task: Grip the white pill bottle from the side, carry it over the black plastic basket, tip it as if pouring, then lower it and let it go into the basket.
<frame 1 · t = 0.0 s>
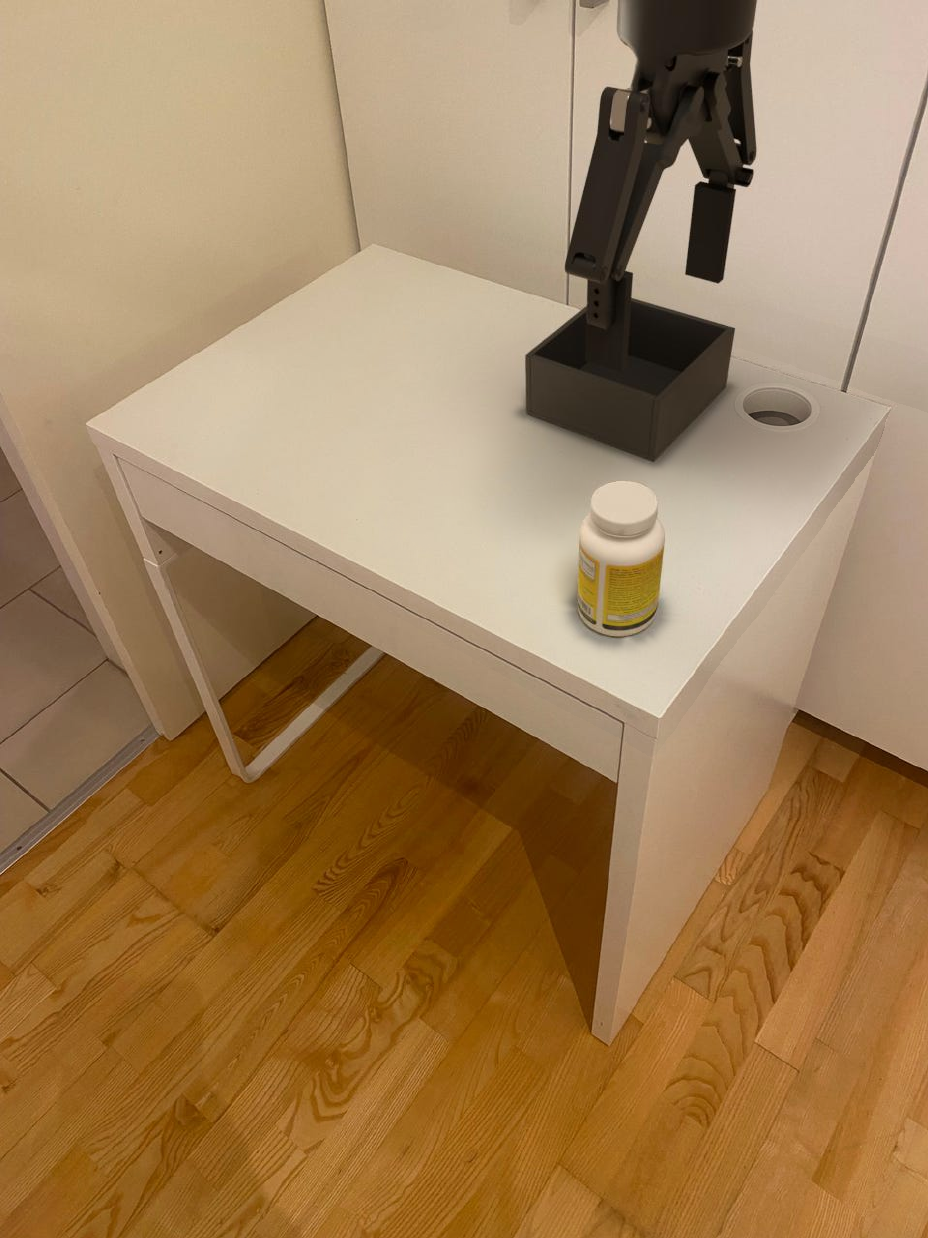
hand: (657, 318, 67), 20 cm above the table, tool pointing down, fingers open, 13 cm apart
basket: (626, 400, 94), on the table
pill bottle: (616, 611, 75), on the table
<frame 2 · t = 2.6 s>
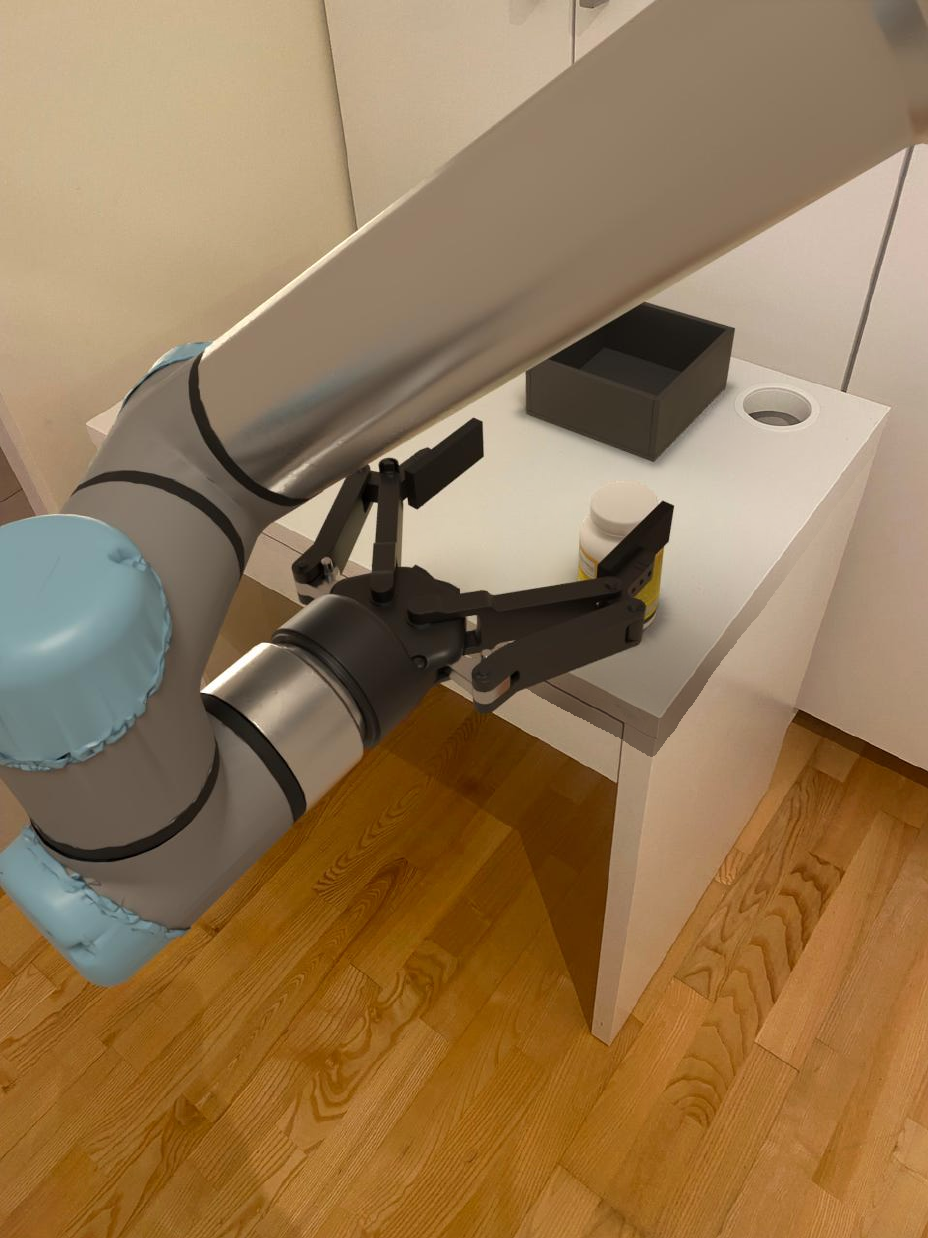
hand: (567, 476, 57), 18 cm above the table, tool horizontal, fingers open, 13 cm apart
nothing on the table moved.
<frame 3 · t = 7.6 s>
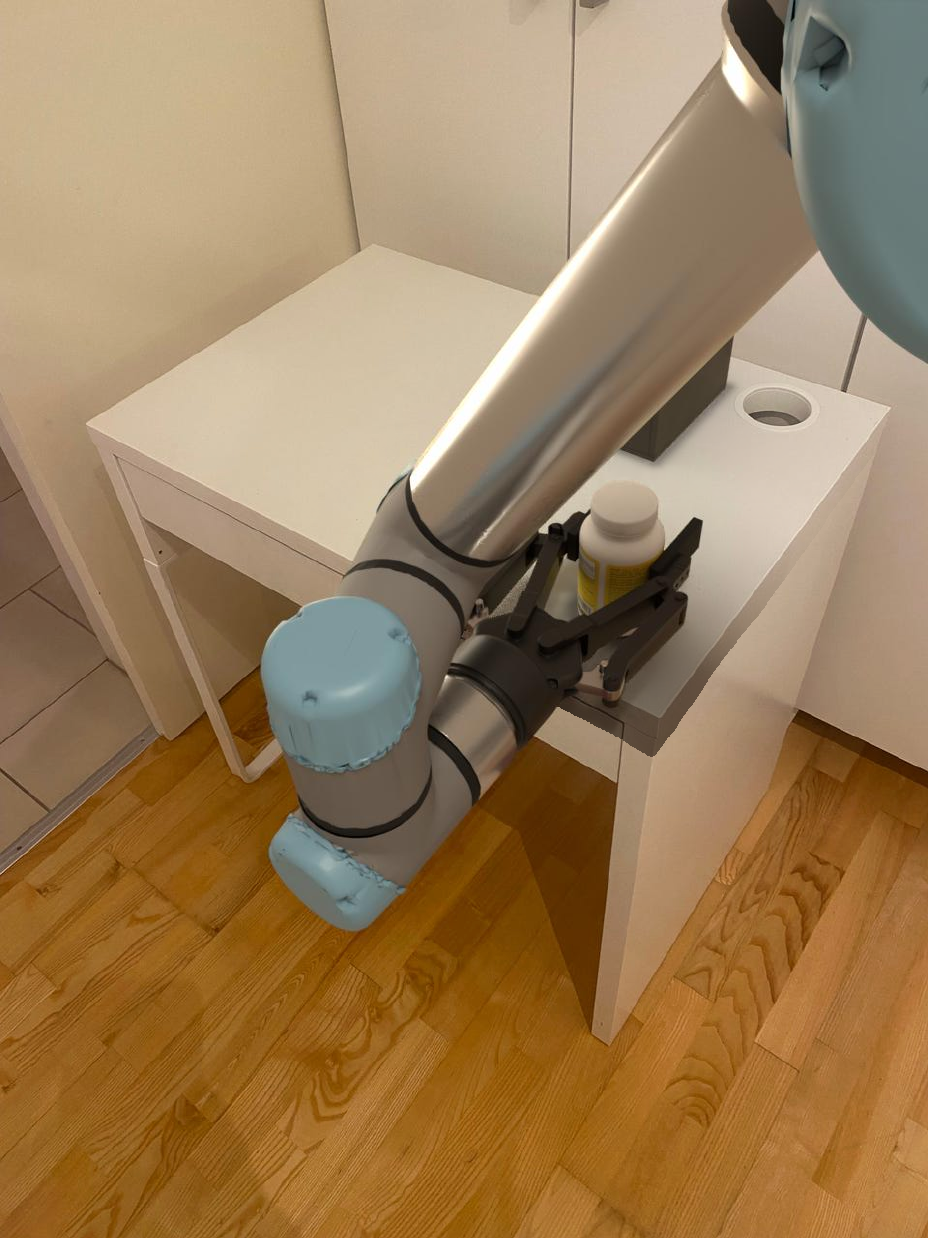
hand: (655, 516, 73), 6 cm above the table, tool horizontal, fingers closed on pill bottle, 6 cm apart
pill bottle: (616, 611, 75), on the table, touching gripper
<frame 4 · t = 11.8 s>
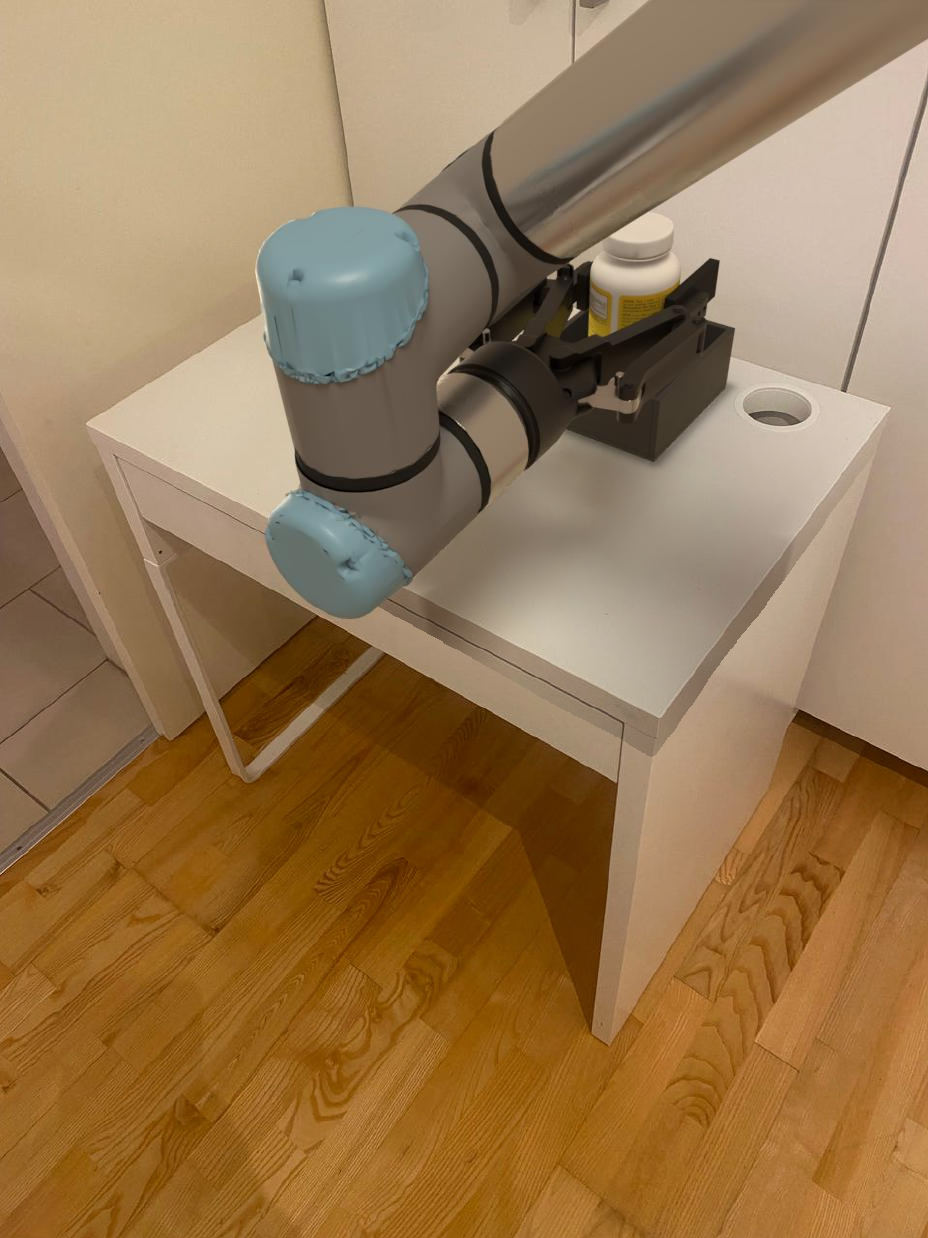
hand: (668, 266, 70), 21 cm above the table, tool horizontal, fingers closed on pill bottle, 6 cm apart
pill bottle: (628, 373, 71), point 15 cm above the table, touching gripper
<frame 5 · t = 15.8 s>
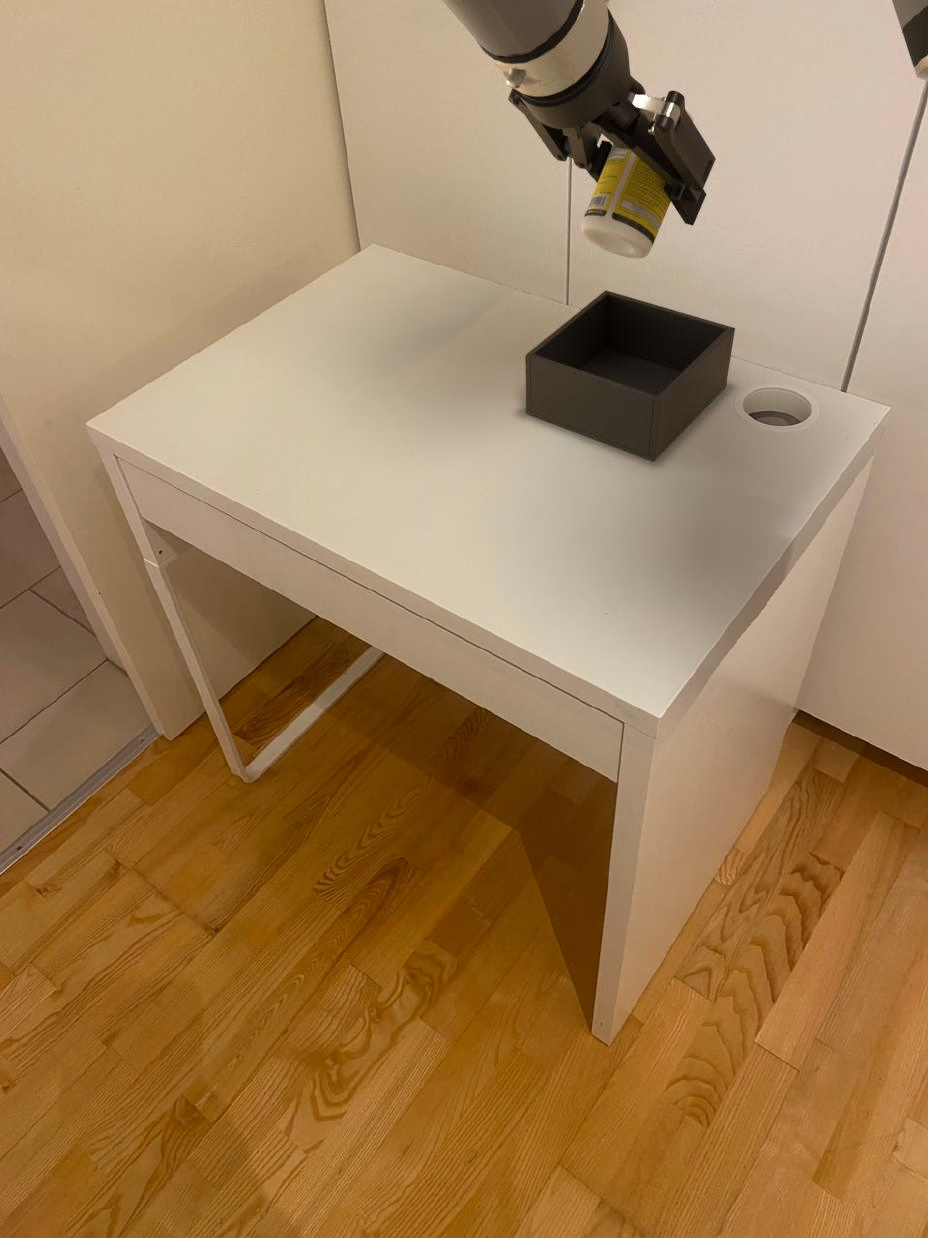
hand: (659, 200, 83), 18 cm above the table, tool tilted 45°, fingers closed on pill bottle, 6 cm apart
pill bottle: (611, 246, 79), point 18 cm above the table, touching gripper
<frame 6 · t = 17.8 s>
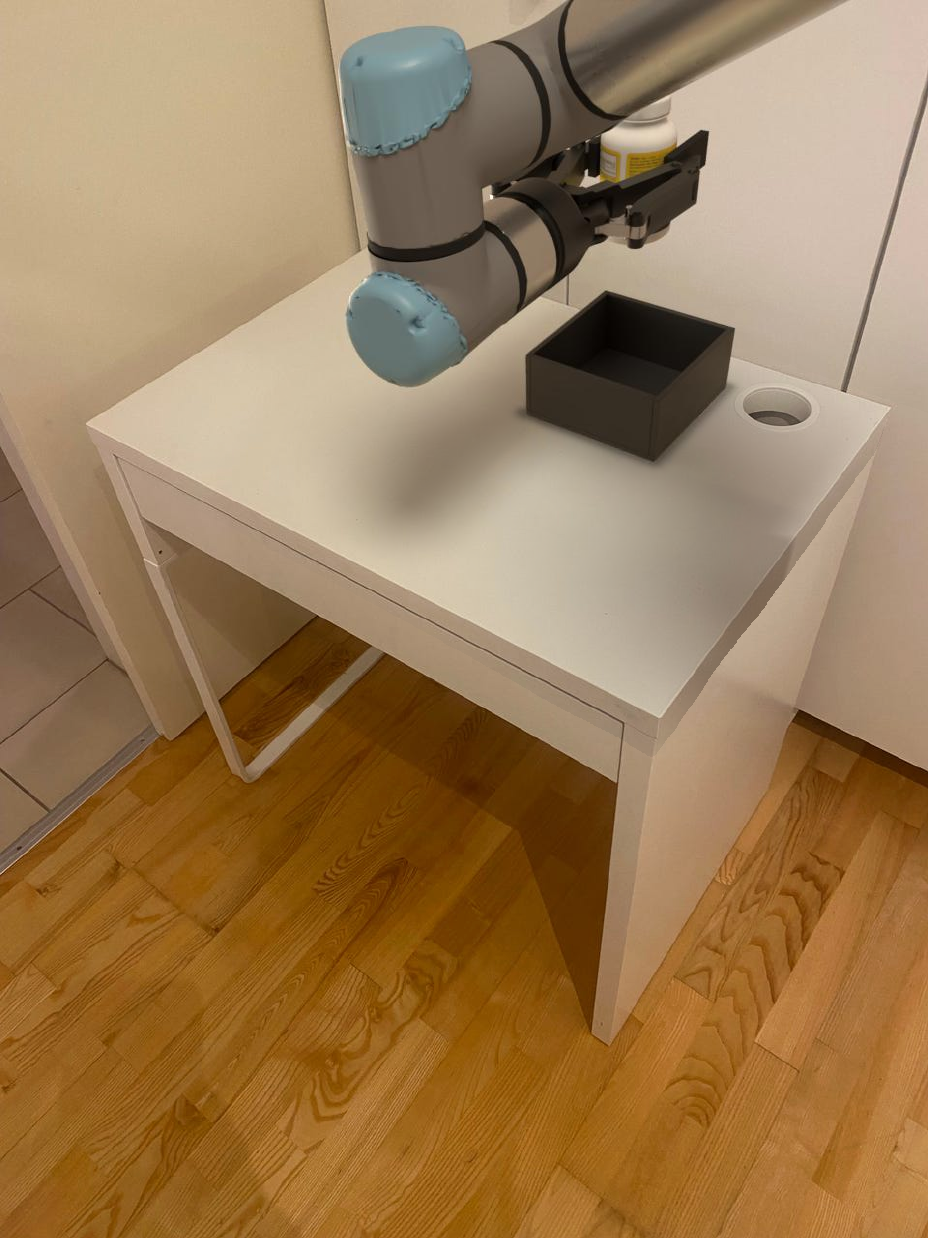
hand: (665, 140, 82), 22 cm above the table, tool horizontal, fingers closed on pill bottle, 6 cm apart
pill bottle: (633, 234, 83), point 16 cm above the table, touching gripper
when the fingers open (8 cm above the table, at t = 22.4 s): pill bottle drops 1 cm, resting on basket.
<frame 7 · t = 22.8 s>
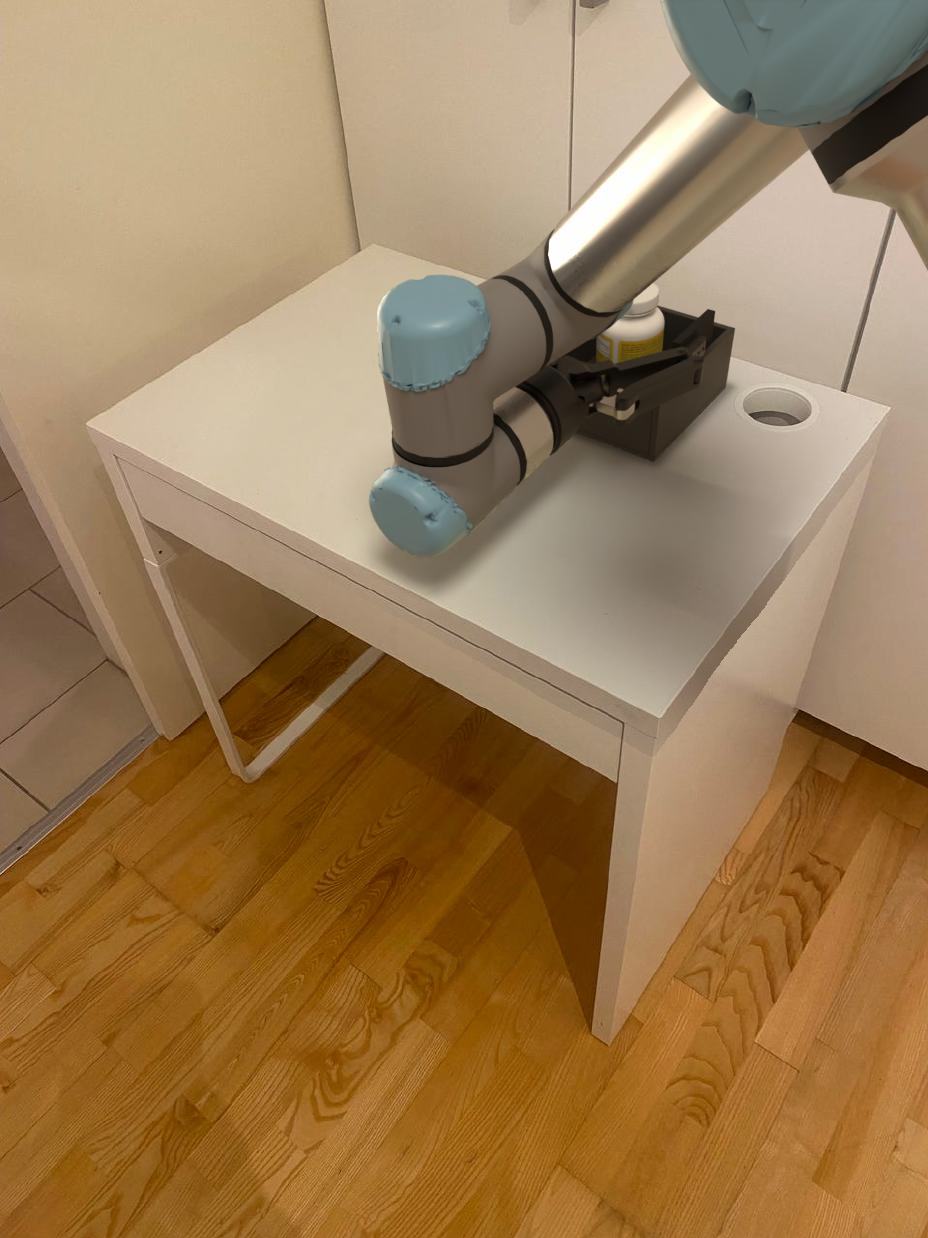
hand: (653, 306, 90), 8 cm above the table, tool horizontal, fingers open, 11 cm apart
pill bottle: (625, 396, 94), resting on basket
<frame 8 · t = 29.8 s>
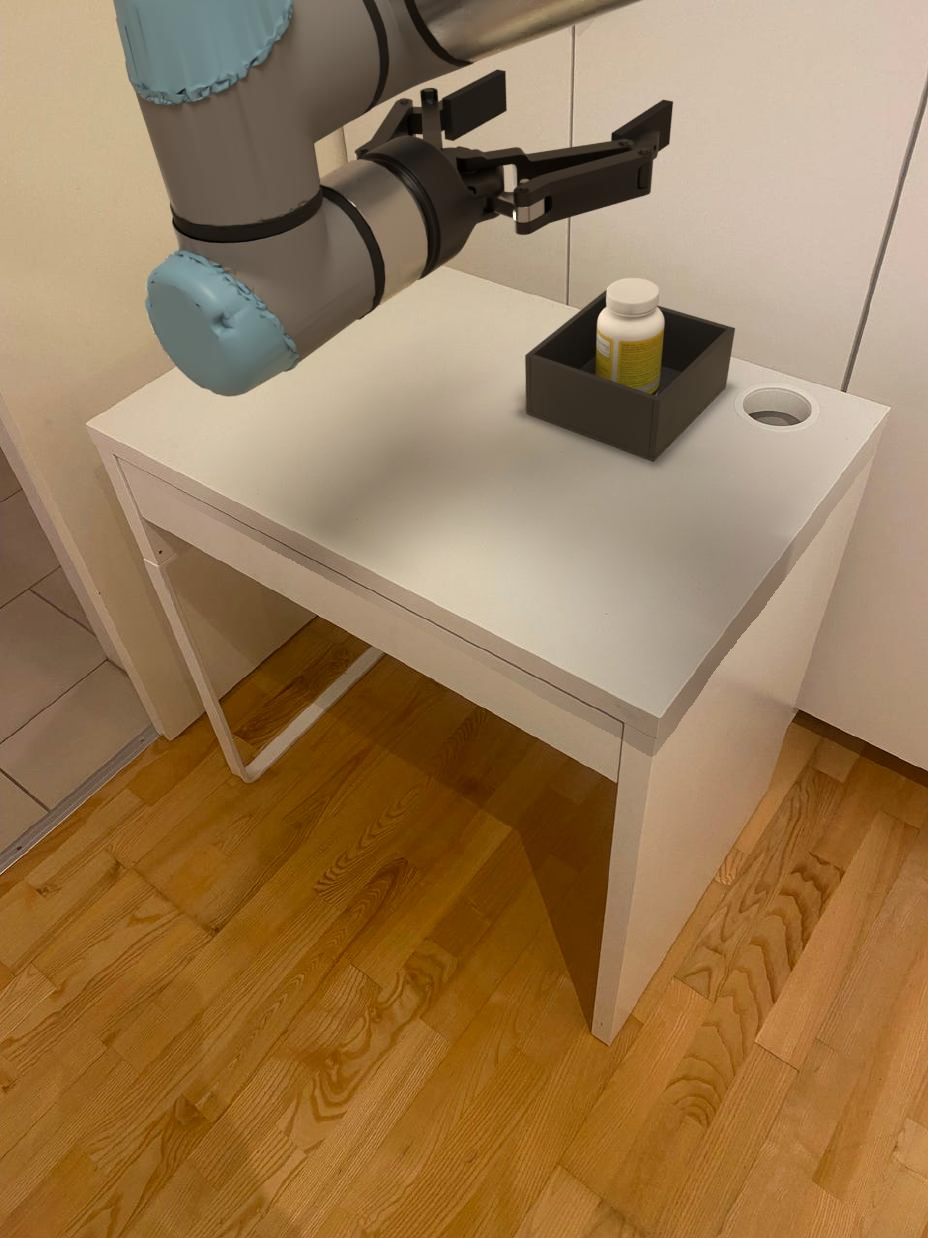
hand: (580, 105, 67), 30 cm above the table, tool horizontal, fingers open, 13 cm apart
nothing on the table moved.
at the end: pill bottle inside the target area in the basket (0.3 cm from its centre), point 0.3 cm above the basket's base; the gripper is holding nothing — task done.
